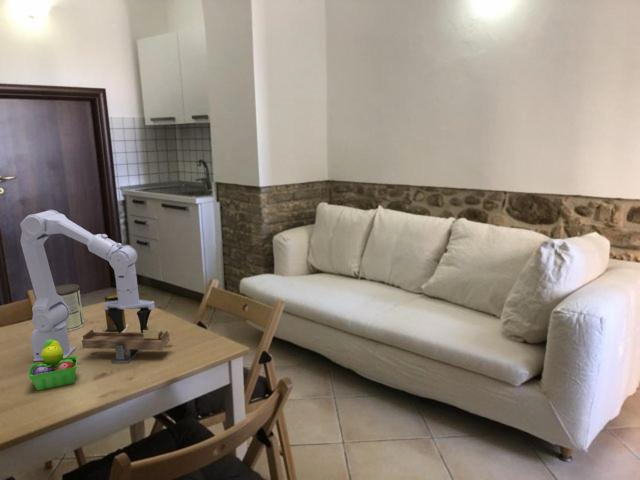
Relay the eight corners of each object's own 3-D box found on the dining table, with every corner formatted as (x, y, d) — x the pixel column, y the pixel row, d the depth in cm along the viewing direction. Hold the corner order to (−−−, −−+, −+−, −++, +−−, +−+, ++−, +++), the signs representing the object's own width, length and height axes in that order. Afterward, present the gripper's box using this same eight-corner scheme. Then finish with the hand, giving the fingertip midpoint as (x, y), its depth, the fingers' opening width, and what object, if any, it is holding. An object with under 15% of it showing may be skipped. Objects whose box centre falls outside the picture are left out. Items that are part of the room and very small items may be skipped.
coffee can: (46, 328, 175) (40, 289, 172) (75, 319, 183) (69, 282, 180) (61, 334, 169) (55, 294, 166) (90, 324, 177) (85, 286, 174)
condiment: (129, 324, 176) (125, 291, 173) (125, 333, 168) (121, 299, 165) (107, 326, 175) (102, 293, 172) (102, 335, 166) (97, 301, 164)
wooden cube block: (144, 342, 147) (142, 330, 146) (149, 337, 151) (148, 324, 150) (158, 343, 147) (157, 330, 146) (164, 337, 151) (163, 325, 150)
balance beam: (82, 350, 148) (80, 337, 147) (94, 341, 154) (93, 328, 154) (161, 352, 146) (160, 338, 145) (170, 342, 152) (168, 329, 151)
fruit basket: (30, 394, 130) (23, 353, 127) (34, 379, 138) (28, 341, 135) (79, 384, 134) (73, 345, 132) (80, 370, 142) (74, 333, 140)
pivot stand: (111, 363, 146) (109, 346, 145) (128, 348, 156) (126, 332, 155) (128, 363, 145) (126, 346, 144) (143, 348, 156) (141, 332, 154)
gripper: (96, 292, 143) (102, 337, 146) (145, 292, 141) (150, 337, 144) (108, 285, 150) (114, 327, 152) (155, 284, 148) (160, 327, 151)
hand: (132, 331), depth 149 cm, fingers open, 6 cm apart
